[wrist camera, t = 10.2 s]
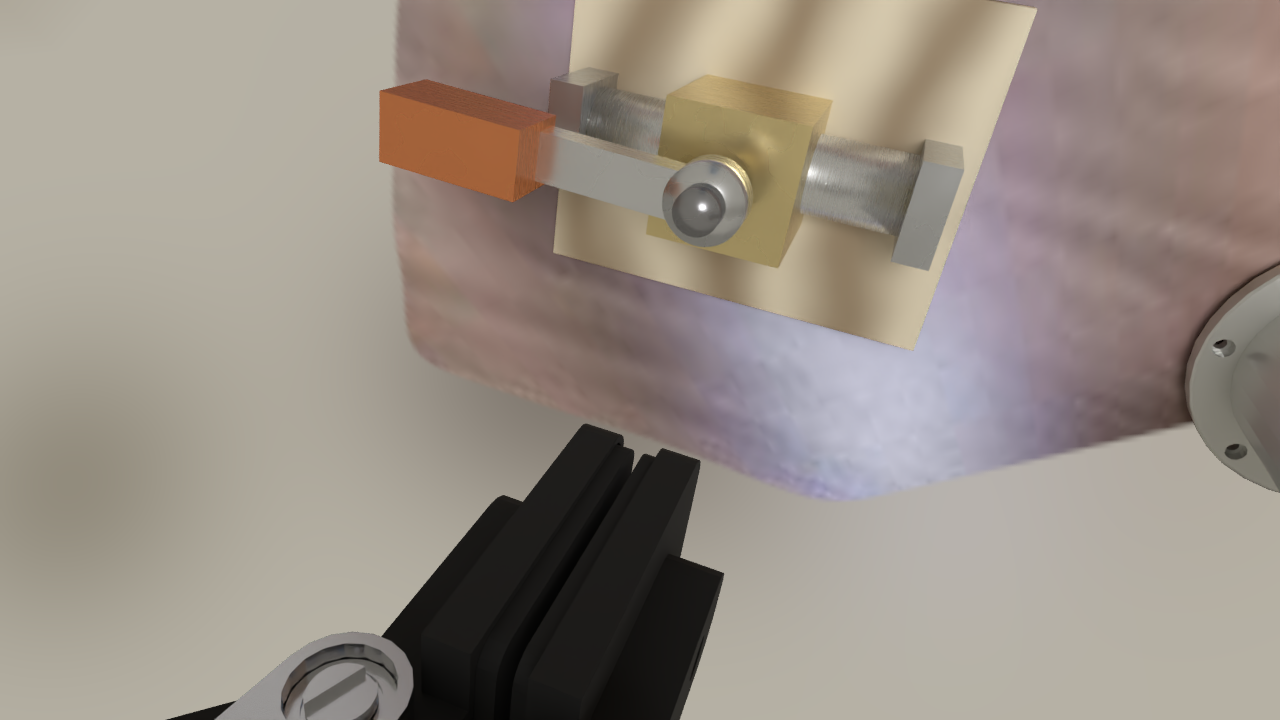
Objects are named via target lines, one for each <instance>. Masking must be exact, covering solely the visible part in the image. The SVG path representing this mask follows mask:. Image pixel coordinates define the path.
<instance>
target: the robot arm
mask: <svg viewBox="0 0 1280 720" xmlns="http://www.w3.org/2000/svg"><path fill="white" fill-rule="evenodd" d="M1220 340H1224V341H1223V342H1222V343H1220V344H1215V343H1216V342H1217V341H1220ZM1184 387H1185V394H1186V401H1187V408H1188V411H1189V413H1190V415H1191V418H1192V420H1193V422H1194V425H1195V427H1196V429H1197V431H1198V432H1199V434H1200V436H1201V437H1202V439H1203V441H1204V442H1205V444H1206V446H1207V447H1208V448H1209V449H1210V451H1211V452H1212V453H1213V454H1214V455H1215V456H1216V457H1217V458H1218V459H1219V460H1220V461H1221V462H1222V463H1223V464H1224V465H1226V466H1227V467H1229V468H1230V469H1232V470H1233V471H1234V472H1236V473H1237V474H1239V475H1240V476H1242V477H1243V478H1245V479H1247V480H1249V481H1252V482H1253V483H1256V484H1258V485H1260V486H1262V487H1264V488H1266V489H1269V490H1272V491H1276V492H1279V493H1280V265H1278V266H1276V267H1274V268H1273V269H1271V270H1269V271H1267V272H1265V273H1264V274H1262V275H1260V276H1258V277H1256V278H1255V279H1253V280H1252V281H1251V282H1250V283H1248V284H1247V285H1246V286H1244V287H1243V288H1242V289H1240V290H1239V291H1238V292H1236V293H1235V294H1234V295H1232V296H1231V297H1230V298H1229V299H1228V300H1227V301H1226V302H1225V303H1224V304H1223V305H1222V306H1221V307H1220V309H1219V310H1218V311H1217V312H1216V313H1215V314H1214V315H1213V316H1212V317H1211V318H1210V319H1209V321H1208V323H1207V324H1206V326H1205V327H1204V329H1203V330H1202V332H1201V333H1200V335H1199V337H1198V338H1197V340H1196V341H1195V344H1194V347H1193V349H1192V352H1191V355H1190V357H1189V360H1188V363H1187V369H1186V377H1185V386H1184ZM623 444H624V439H623V436H622V435H620V434H617V433H614V432H611V431H608V430H604V429H601V428H598V427H595V426H592V425H589V424H583V425H582V426H581V428H580V429H579V430H578V431H577V432H576V434H575V435H574V436H573V438H572V439H571V440H570V442H569V443H568V444H567V445H566V447H565V448H564V449H563V451H562V452H561V453H560V455H559V456H558V457H557V459H556V460H555V461H554V462H553V464H552V465H551V466H550V468H549V469H548V470H547V471H546V473H545V474H544V475H543V477H542V478H541V479H540V480H539V482H538V483H537V485H536V486H535V487H534V488H533V490H532V491H531V492H530V493H529V495H528V496H527V497H526V499H525V500H524V501H523V502H522V501H519V500H516V499H513V498H510V497H507V496H505V495H502V496H500V497H498V498H497V499H496V500H495V501H494V502H493V503H491V504H490V506H489V507H488V508H487V509H486V510H485V512H484V513H483V514H482V515H481V516H480V518H479V519H478V520H477V521H476V523H475V524H474V525H473V526H472V527H471V529H470V530H469V531H468V532H467V533H466V535H465V536H464V537H463V538H462V540H461V541H460V542H459V543H458V544H457V546H456V547H455V548H454V549H453V551H452V552H451V553H450V554H449V556H447V558H446V559H445V560H444V562H443V563H442V564H441V565H440V566H439V567H438V569H437V570H436V571H435V572H434V573H433V575H432V576H431V577H430V578H429V580H428V581H427V582H426V583H425V584H424V585H423V587H422V588H421V589H420V591H419V592H418V593H417V594H416V595H415V596H414V598H413V599H412V600H411V601H410V602H409V604H408V605H407V606H406V607H405V609H404V610H403V611H402V612H401V613H400V615H399V616H398V617H397V618H396V619H395V621H394V622H393V623H392V624H391V626H390V627H389V628H388V629H387V630H386V632H385V633H384V634H383V635H382V636H381V637H380V636H377V635H375V634H370V633H359V632H347V633H340V634H333V635H329V636H326V637H324V638H321V639H319V640H316V641H313V642H311V643H309V644H307V645H306V646H304V647H303V648H301V649H300V650H298V651H297V652H295V653H294V654H292V655H291V656H289V657H288V658H287V659H286V660H285V661H283V662H282V663H281V664H280V665H279V666H277V667H276V668H275V669H274V670H273V671H272V672H270V673H269V674H268V675H267V676H266V677H265V678H263V679H262V680H261V681H260V682H259V683H257V684H256V685H255V686H254V687H253V688H252V689H250V690H249V691H248V692H247V693H245V694H244V695H243V696H242V697H241V698H240V699H238V700H237V701H233V702H230V703H226V704H222V705H219V706H216V707H211V708H208V709H204V710H200V711H197V712H193V713H189V714H185V715H182V716H178V717H175V718H171V719H167V720H680V716H681V714H682V711H683V708H684V705H685V702H686V699H687V697H688V694H689V691H690V688H691V685H692V682H693V679H694V676H695V673H696V671H697V667H698V665H699V661H700V658H701V655H702V652H703V649H704V646H705V643H706V639H707V636H708V632H709V629H710V626H711V623H712V619H713V616H714V612H715V608H716V604H717V600H718V597H719V593H720V589H721V586H722V582H723V576H724V573H722V572H719V571H716V570H714V569H710V568H708V567H705V566H702V565H700V564H697V563H694V562H691V561H688V560H685V559H683V558H680V556H681V551H682V547H683V542H684V538H685V533H686V528H687V524H688V520H689V515H690V511H691V506H692V502H693V497H694V492H695V488H696V484H697V479H698V475H699V470H700V460H697V459H694V458H691V457H688V456H685V455H682V454H679V453H676V452H673V451H670V450H666V449H663V448H662V449H661V450H660V451H659V453H658V454H657V456H656V457H654V456H650V455H648V454H643V455H642V457H641V458H640V460H639V462H638V463H637V465H636V467H635V468H634V470H633V472H632V466H633V460H634V451H633V450H632V449H629V448H626V447H623ZM1232 444H1233V445H1232ZM631 472H632V473H631Z"/></svg>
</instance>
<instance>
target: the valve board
mask: <svg viewBox="0 0 1280 720" xmlns="http://www.w3.org/2000/svg"><path fill="white" fill-rule="evenodd" d="M1036 12H1037V8H1035V7H1031V6H1025V5H1020V4H1014V3H1008V2H1002V1H996V0H575V11H574V23H573V34H572V45H571V57H570V68H569V73H571V72H574V71H577V70H581V69H584V68H587V67H591V68H596V69H600V70H605V71H610V72H614V73H619V74H618V82H617V89H619V90H624V91H628V92H633V93H637V94H642V95H647V96H651V97H656V98H660V99H665V100H666V96H667V94H669V93H671V92H673V91H675V90H677V89H679V88H681V87H683V86H685V85H687V84H689V83H691V82H693V81H695V80H697V79H699V78H701V77H703V76H705V75H707V74H709V75H714V76H718V77H723V78H728V79H733V80H738V81H742V82H747V83H752V84H757V85H762V86H767V87H771V88H776V89H781V90H786V91H791V92H795V93H800V94H805V95H810V96H815V97H820V98H824V99H829V100H833V103H832V107H831V110H830V114H829V118H828V122H827V126H826V130H825V134H826V135H830V136H835V137H839V138H844V139H848V140H853V141H858V142H862V143H867V144H871V145H876V146H881V147H885V148H890V149H894V150H899V151H904V152H908V153H913V154H917V155H921V152H922V149H923V146H924V143H925V139H929V140H934V141H938V142H943V143H948V144H953V145H957V146H962V148H963V158H964V169H965V170H964V173H963V176H962V178H961V181H960V184H959V187H958V190H957V193H956V195H955V198H954V201H953V204H952V207H951V209H950V212H949V215H948V218H947V221H946V224H945V226H944V229H943V232H942V235H941V238H940V240H939V243H938V246H937V249H936V252H935V255H934V257H933V260H932V263H931V266H930V269H929V271H926V270H922V269H918V268H914V267H910V266H906V265H902V264H898V263H894V262H891V257H892V251H893V245H894V240H895V236H893V235H888V234H884V233H880V232H876V231H872V230H868V229H864V228H859V227H855V226H851V225H847V224H843V223H839V222H835V221H831V220H826V219H822V218H818V217H814V216H810V215H806V214H804V216H803V220H802V224H801V226H800V228H799V230H798V232H797V234H796V236H795V237H794V239H793V241H792V243H791V245H790V247H789V249H788V251H787V253H786V255H785V256H784V258H783V260H782V262H781V264H780V266H779V268H774V267H770V266H766V265H762V264H758V263H754V262H751V261H747V260H743V259H739V258H735V257H731V256H727V255H724V254H720V253H716V252H712V251H708V250H704V249H701V248H697V247H693V246H689V245H685V244H681V243H677V242H674V241H670V240H666V239H662V238H658V237H654V236H651V235H647V234H646V229H647V222H648V216H649V215H648V214H644V213H641V212H637V211H634V210H631V209H627V208H624V207H621V206H617V205H614V204H611V203H607V202H604V201H600V200H597V199H594V198H590V197H587V196H584V195H580V194H577V193H573V192H570V191H567V190H563V189H560V188H559V193H558V205H557V216H556V228H555V239H554V250H553V253H556V254H560V255H564V256H567V257H571V258H575V259H578V260H582V261H586V262H589V263H593V264H597V265H600V266H604V267H608V268H611V269H615V270H619V271H622V272H626V273H630V274H633V275H637V276H641V277H644V278H648V279H652V280H655V281H659V282H662V283H666V284H670V285H673V286H677V287H681V288H684V289H688V290H692V291H695V292H699V293H703V294H706V295H710V296H714V297H717V298H721V299H725V300H728V301H732V302H736V303H739V304H743V305H747V306H750V307H754V308H758V309H761V310H765V311H769V312H772V313H776V314H780V315H783V316H787V317H791V318H794V319H798V320H802V321H805V322H809V323H813V324H816V325H820V326H824V327H827V328H831V329H835V330H838V331H842V332H846V333H849V334H853V335H857V336H860V337H864V338H868V339H871V340H875V341H879V342H882V343H886V344H889V345H893V346H897V347H900V348H904V349H908V350H911V351H913V350H914V347H915V344H916V342H917V339H918V336H919V333H920V331H921V328H922V325H923V322H924V320H925V317H926V314H927V311H928V309H929V306H930V303H931V300H932V298H933V295H934V292H935V289H936V287H937V284H938V281H939V278H940V276H941V273H942V270H943V267H944V265H945V262H946V259H947V256H948V254H949V251H950V248H951V246H952V243H953V240H954V237H955V235H956V232H957V229H958V226H959V224H960V221H961V218H962V215H963V213H964V210H965V207H966V204H967V202H968V199H969V196H970V193H971V191H972V188H973V185H974V182H975V180H976V177H977V174H978V171H979V169H980V166H981V163H982V160H983V158H984V155H985V152H986V149H987V147H988V144H989V141H990V138H991V136H992V133H993V130H994V127H995V125H996V122H997V119H998V116H999V114H1000V111H1001V108H1002V105H1003V103H1004V100H1005V97H1006V94H1007V92H1008V89H1009V86H1010V83H1011V81H1012V78H1013V75H1014V73H1015V70H1016V67H1017V64H1018V62H1019V59H1020V56H1021V53H1022V51H1023V48H1024V45H1025V42H1026V40H1027V37H1028V34H1029V31H1030V29H1031V26H1032V23H1033V20H1034V18H1035V15H1036Z"/></svg>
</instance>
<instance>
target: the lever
mask: <svg viewBox="0 0 1280 720" xmlns="http://www.w3.org/2000/svg"><path fill="white" fill-rule="evenodd" d="M555 121H556V115H553V114H550V113H546V112H542V111H539V110H535V109H532V108H528V107H524V106H521V105H517V104H514V103H510V102H506V101H503V100H499V99H495V98H492V97H488V96H485V95H481V94H477V93H474V92H470V91H466V90H463V89H459V88H456V87H452V86H448V85H445V84H441V83H437V82H434V81H430V80H427V79H426V80H422V81H418V82H413V83H409V84H405V85H401V86H397V87H393V88H389V89H385V90H381V91H380V145H379V148H380V149H379V150H380V151H379V159H380V160H379V161H380V162H382V163H386V164H389V165H392V166H395V167H399V168H402V169H405V170H409V171H412V172H415V173H418V174H422V175H425V176H428V177H432V178H435V179H438V180H441V181H445V182H448V183H451V184H455V185H458V186H461V187H464V188H468V189H471V190H474V191H477V192H481V193H484V194H487V195H491V196H494V197H497V198H500V199H504V200H507V201H510V202H514V201H516V200H518V199H520V198H521V197H523V196H525V195H527V194H528V193H530V192H532V191H533V190H535V189H537V188H539V187H540V186H542V185H544V184H546V185H550V186H553V187H557V188H560V189H563V190H567V191H570V192H573V193H577V194H580V195H584V196H587V197H590V198H594V199H597V200H600V201H604V202H607V203H611V204H614V205H617V206H621V207H624V208H627V209H631V210H634V211H637V212H641V213H644V214H648V215H651V216H654V217H658V218H661V219H664V220H666V222H667V224H668V226H669V227H670V229H671V230H672V231H673V233H674V234H675V235H676V236H678V237H679V238H680V239H681V240H683V241H685V242H686V243H688V244H691V245H694V246H698V247H712V246H717V245H720V244H722V243H724V242H726V241H727V240H729V239H730V238H731V237H732V236H733V235H734V234H735V233H736V232H737V230H738V229H739V228H740V226H741V225H742V224H743V222H744V221H745V220H746V218H747V217H748V215H749V213H750V210H751V207H752V203H753V190H752V185H751V182H750V180H749V177H748V175H747V174H746V172H745V171H744V170H743V169H742V167H741V166H739V165H738V164H737V163H736V162H734V161H733V160H731V159H729V158H727V157H724V156H721V155H714V154H709V155H703V156H699V157H697V158H695V159H693V160H691V161H690V162H688V163H683V162H680V161H676V160H672V159H669V158H665V157H662V156H658V155H655V154H651V153H647V152H644V151H640V150H637V149H633V148H629V147H626V146H622V145H619V144H615V143H612V142H608V141H604V140H601V139H597V138H594V137H590V136H587V135H583V134H579V133H576V132H572V131H569V130H565V129H562V128H558V127H555Z"/></svg>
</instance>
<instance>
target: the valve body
mask: <svg viewBox="0 0 1280 720" xmlns="http://www.w3.org/2000/svg"><path fill="white" fill-rule="evenodd" d="M618 74H619V73H614V72H610V71H605V70H600V69H596V68H591V67H587V68H584V69H581V70H577V71H574V72H571V73H568V74H565V75H562V76H559V77H555V78H552V79H551V82H550V95H549V108H548V113H550V114H553V115H556V121H555V127H558V128H562V129H565V130H569V131H572V132H576V133H579V134H583V135H587V136H590V137H594V138H597V139H601V140H604V141H608V142H612V143H615V144H619V145H622V146H626V147H629V148H633V149H637V150H640V151H644V152H647V153H651V154H655V155H658V156H662V157H665V158H669V159H672V160H676V161H680V162H683V163H688V162H690V161H691V160H693V159H695V158H697V157H699V156H703V155H709V154H714V155H721V156H724V157H727V158H729V159H731V160H733V161H734V162H736V163H737V164H738V165H739V166H741V167H742V169H743V170H744V171H745V172H746V174H747V175H748V177H749V180H750V182H751V185H752V190H753V203H752V207H751V210H750V213H749V215H748V217H747V218H746V220H745V221H744V222H743V224H742V225H741V226H740V228H739V229H738V230H737V232H736V233H735V234H734V235H733V236H732V237H731V238H730V239H729V240H727V241H726V242H724V243H722V244H720V245H717V246H712V247H698V246H694V245H691V244H688V243H686V242H685V241H683V240H681V239H680V238H679V237H678V236H676V235H675V234H674V233H673V231H672V230H671V229H670V227H669V226H668V224H667V222H666V220H664V219H661V218H658V217H654V216H651V215H649V216H648V222H647V229H646V234H647V235H651V236H654V237H658V238H662V239H666V240H670V241H674V242H677V243H681V244H685V245H689V246H693V247H697V248H701V249H704V250H708V251H712V252H716V253H720V254H724V255H727V256H731V257H735V258H739V259H743V260H747V261H751V262H754V263H758V264H762V265H766V266H770V267H774V268H779V266H780V264H781V262H782V260H783V258H784V256H785V255H786V253H787V251H788V249H789V247H790V245H791V243H792V241H793V239H794V237H795V236H796V234H797V232H798V230H799V228H800V226H801V224H802V220H803V216H804V214H806V215H810V216H814V217H818V218H822V219H826V220H831V221H835V222H839V223H843V224H847V225H851V226H855V227H859V228H864V229H868V230H872V231H876V232H880V233H884V234H888V235H893V236H895V240H894V245H893V251H892V257H891V262H894V263H898V264H902V265H906V266H910V267H914V268H918V269H922V270H926V271H929V269H930V266H931V263H932V260H933V257H934V255H935V252H936V249H937V246H938V243H939V240H940V238H941V235H942V232H943V229H944V226H945V224H946V221H947V218H948V215H949V212H950V209H951V207H952V204H953V201H954V198H955V195H956V193H957V190H958V187H959V184H960V181H961V178H962V176H963V173H964V170H965V169H964V158H963V148H962V146H957V145H953V144H948V143H943V142H938V141H934V140H929V139H925V143H924V146H923V149H922V152H921V155H917V154H913V153H908V152H904V151H899V150H894V149H890V148H885V147H881V146H876V145H871V144H867V143H862V142H858V141H853V140H848V139H844V138H839V137H835V136H830V135H826V134H825V130H826V126H827V122H828V118H829V114H830V110H831V107H832V103H833V100H829V99H824V98H820V97H815V96H810V95H805V94H800V93H795V92H791V91H786V90H781V89H776V88H771V87H767V86H762V85H757V84H752V83H747V82H742V81H738V80H733V79H728V78H723V77H718V76H714V75H709V74H707V75H705V76H703V77H701V78H699V79H697V80H695V81H693V82H691V83H689V84H687V85H685V86H683V87H681V88H679V89H677V90H675V91H673V92H671V93H669V94H667V96H666V100H665V99H660V98H656V97H651V96H647V95H642V94H637V93H633V92H628V91H624V90H619V89H617V82H618Z"/></svg>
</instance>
